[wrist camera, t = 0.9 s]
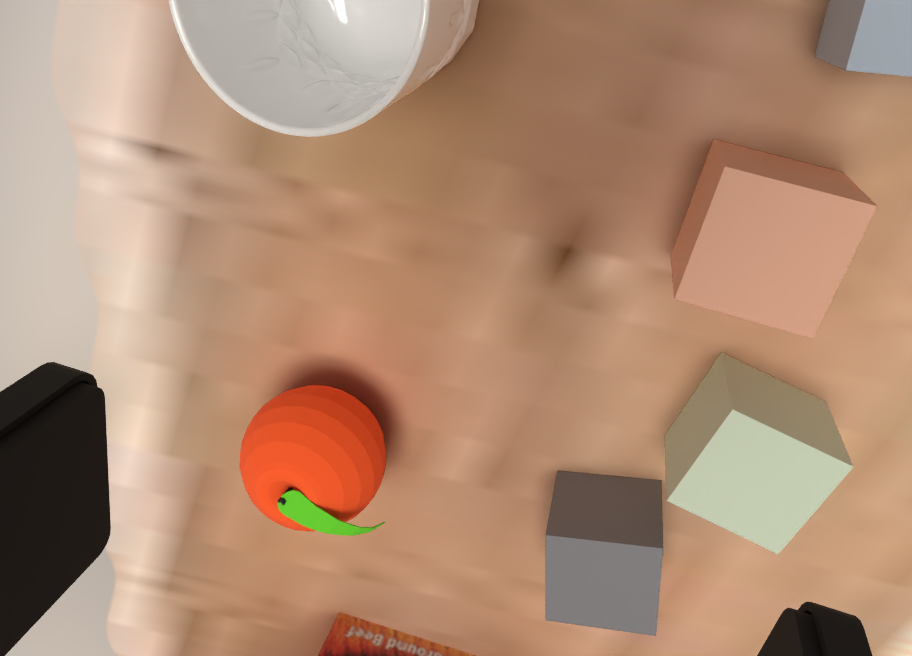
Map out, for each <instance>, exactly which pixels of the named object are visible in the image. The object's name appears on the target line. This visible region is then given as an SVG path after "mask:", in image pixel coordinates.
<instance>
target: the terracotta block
mask: <svg viewBox="0 0 912 656" xmlns="http://www.w3.org/2000/svg"><path fill="white" fill-rule="evenodd" d="M877 207H878V206H877V205H876V204H875V203H874V202H873V201H872V200H871V199H870V198H869V197H868V196H867V195H866V194H865V193H863V192H862V191H861V190H860V189H859V188H858V187H857V186H856V185H855V184H854V183H853V182H852V181H851V180H850V179H849V178H848V177H847V176H846V175H845V174H844V173H843V172H839V171H836V170H832V169H828V168H824V167H820V166H816V165H812V164H808V163H804V162H801V161H797V160H793V159H789V158H785V157H781V156H777V155H773V154H769V153H766V152H762V151H758V150H754V149H750V148H746V147H742V146H738V145H735V144H731V143H727V142H723V141H719V140H715V139H713V142H712V145H711V147H710V150H709V153H708V156H707V158H706V161H705V164H704V166H703V169H702V172H701V175H700V177H699V180H698V183H697V186H696V188H695V191H694V194H693V196H692V199H691V202H690V205H689V207H688V210H687V213H686V215H685V218H684V221H683V224H682V226H681V229H680V232H679V235H678V237H677V240H676V243H675V245H674V248H673V251H672V254H671V265H672V277H673V289H674V299H675V300H678V301H682V302H685V303H689V304H692V305H696V306H700V307H703V308H707V309H710V310H714V311H717V312H721V313H724V314H728V315H731V316H735V317H738V318H742V319H745V320H749V321H752V322H756V323H759V324H763V325H766V326H770V327H774V328H777V329H781V330H784V331H788V332H791V333H795V334H798V335H802V336H805V337H809V338H812V339H813V337H814V335H815V333H816V331H817V329H818V327H819V325H820V323H821V321H822V319H823V317H824V315H825V313H826V311H827V309H828V307H829V305H830V303H831V301H832V298H833V296H834V294H835V292H836V290H837V288H838V286H839V284H840V282H841V280H842V278H843V276H844V274H845V272H846V270H847V268H848V266H849V264H850V262H851V260H852V258H853V256H854V254H855V252H856V249H857V247H858V245H859V243H860V241H861V239H862V237H863V235H864V233H865V231H866V229H867V227H868V225H869V223H870V221H871V219H872V217H873V215H874V213H875V211H876V209H877Z"/></svg>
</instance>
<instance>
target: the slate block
mask: <svg viewBox="0 0 912 656" xmlns="http://www.w3.org/2000/svg"><path fill="white" fill-rule="evenodd" d="M814 57H816V58H818V59H821V60H823V61H825V62H827V63H830V64H832V65H834V66H837V67H839V68H841V69H844V70H846V71H857V72H868V73H878V74H889V75H900V76H910V77H912V0H829V3H828V7H827V11H826V14H825V18H824V22H823V26H822V30H821V33H820V37H819V41H818V45H817V49H816V52H815V56H814Z"/></svg>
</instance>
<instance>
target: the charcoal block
mask: <svg viewBox="0 0 912 656" xmlns="http://www.w3.org/2000/svg"><path fill="white" fill-rule="evenodd" d="M662 556H663V522H662V480H653V479H642V478H631V477H621V476H610V475H599V474H589V473H578V472H567V471H558V472H557V477H556V482H555V488H554V493H553V498H552V503H551V509H550V514H549V519H548V525H547V530H546V621H554V622H561V623H568V624H575V625H582V626H589V627H596V628H603V629H610V630H618V631H625V632H632V633H639V634H646V635H653V636H656V630H657V617H658V605H659V593H660V581H661V568H662Z"/></svg>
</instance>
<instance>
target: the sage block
mask: <svg viewBox="0 0 912 656" xmlns="http://www.w3.org/2000/svg"><path fill="white" fill-rule="evenodd" d="M665 465H666V493H667V501H668V502H670V503H673V504H675V505H677V506H679V507H681V508H683V509H685V510H687V511H689V512H691V513H693V514H695V515H697V516H700V517H702V518H704V519H706V520H708V521H710V522H712V523H714V524H716V525H718V526H720V527H722V528H724V529H727V530H729V531H731V532H733V533H735V534H737V535H739V536H741V537H743V538H745V539H747V540H749V541H751V542H754V543H756V544H758V545H760V546H762V547H764V548H766V549H768V550H770V551H772V552H774V553H776V554H779V553H780V551H781V550H782V549H783V548H784V547H785V546H786V545H787V543H788V542H789V541H790V540H791V539H792V538H793V536H794V535H795V534H796V533H797V532H798V531H799V529H800V528H801V527H802V526H803V525H804V524H805V522H806V521H807V520H808V519H809V518H810V517H811V516H812V514H813V513H814V512H815V511H816V510H817V509H818V507H819V506H820V505H821V504H822V503H823V502H824V500H825V499H826V498H827V497H828V496H829V495H830V494H831V492H832V491H833V490H834V489H835V488H836V487H837V485H838V484H839V483H840V482H841V481H842V480H843V478H844V477H845V476H846V475H847V474H848V473H849V472H850V470H851V469H852V468H853V464H852V462H851V460H850V457H849V455H848V453H847V450H846V448H845V445H844V443H843V441H842V438H841V436H840V434H839V431H838V429H837V426H836V424H835V422H834V419H833V417H832V415H831V412H830V410H829V407H828V405H827V403H826V402H825V401H823V400H821V399H819V398H817V397H815V396H813V395H811V394H809V393H806V392H804V391H802V390H800V389H798V388H796V387H794V386H792V385H790V384H787V383H785V382H783V381H781V380H779V379H777V378H775V377H773V376H771V375H769V374H766V373H764V372H762V371H760V370H758V369H756V368H754V367H752V366H750V365H747V364H745V363H743V362H741V361H739V360H737V359H735V358H733V357H731V356H728V355H726V354H724V353H722V352H721V353H720V355H719V356H718V358H717V359H716V361H715V362H714V364H713V365H712V367H711V368H710V370H709V371H708V373H707V374H706V376H705V377H704V379H703V380H702V381H701V383H700V384H699V386H698V387H697V389H696V390H695V392H694V393H693V395H692V396H691V398H690V399H689V401H688V402H687V404H686V405H685V407H684V408H683V410H682V411H681V412H680V414H679V415H678V417H677V418H676V420H675V421H674V423H673V424H672V426H671V427H670V429H669V430H668V432H667V433H666V435H665Z"/></svg>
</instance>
